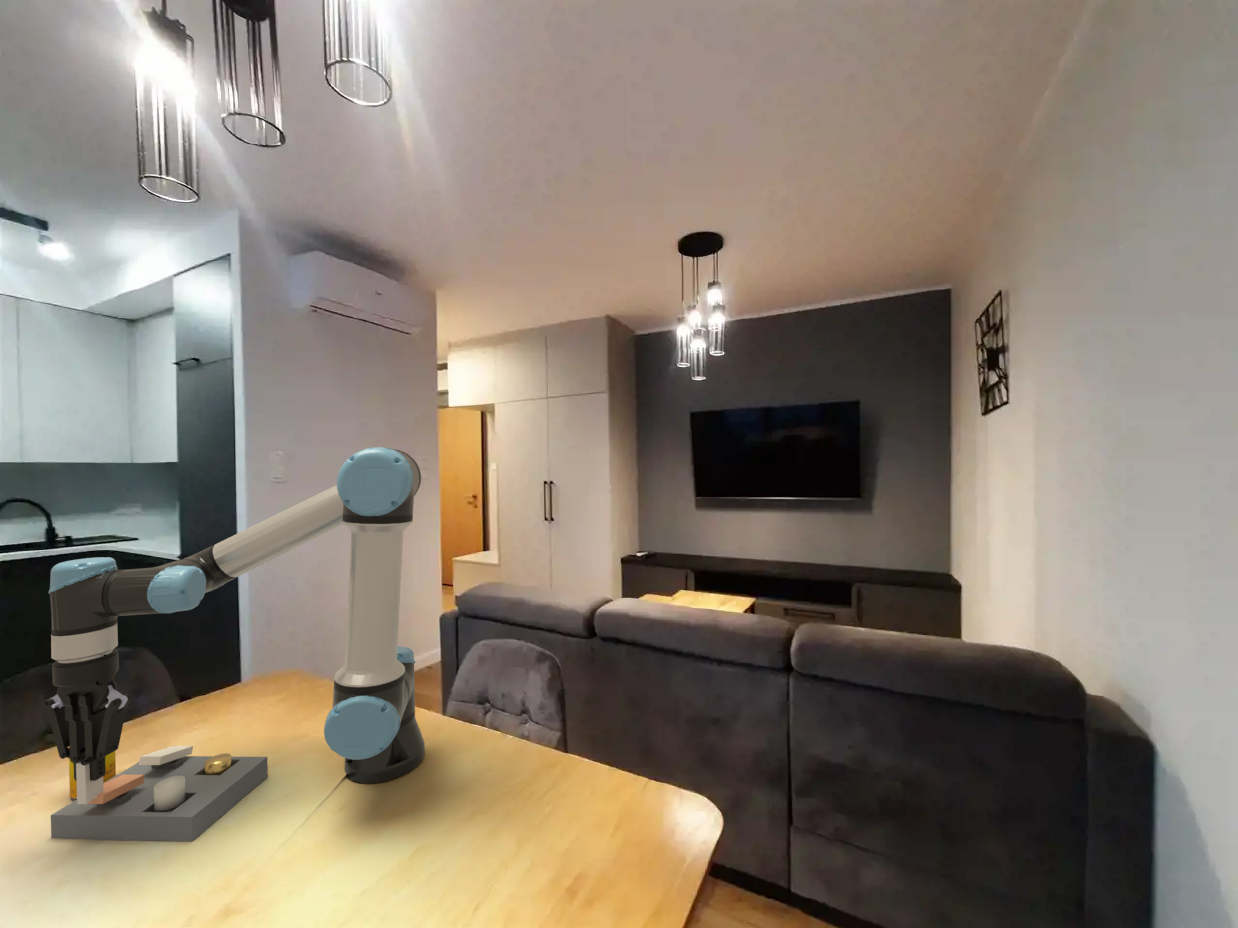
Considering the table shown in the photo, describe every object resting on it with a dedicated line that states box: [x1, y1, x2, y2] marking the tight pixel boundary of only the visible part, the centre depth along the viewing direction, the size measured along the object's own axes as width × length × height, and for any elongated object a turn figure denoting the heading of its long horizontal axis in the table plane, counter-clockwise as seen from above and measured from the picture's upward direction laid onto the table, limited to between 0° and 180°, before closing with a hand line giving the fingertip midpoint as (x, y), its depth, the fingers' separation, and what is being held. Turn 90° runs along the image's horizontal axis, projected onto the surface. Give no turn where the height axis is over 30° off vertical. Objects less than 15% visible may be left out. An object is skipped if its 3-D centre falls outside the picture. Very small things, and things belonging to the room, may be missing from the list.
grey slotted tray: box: [50, 755, 269, 842], centre depth 93 cm, size 24×17×5 cm
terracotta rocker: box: [87, 775, 144, 804], centre depth 88 cm, size 4×7×1 cm, turn 178°
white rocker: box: [138, 745, 194, 765], centre depth 98 cm, size 4×7×1 cm, turn 178°
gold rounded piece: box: [204, 753, 232, 775], centre depth 97 cm, size 4×4×4 cm
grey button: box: [154, 776, 185, 811], centre depth 87 cm, size 4×4×4 cm
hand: (90, 798), depth 84 cm, fingers closed, pressing on terracotta rocker
